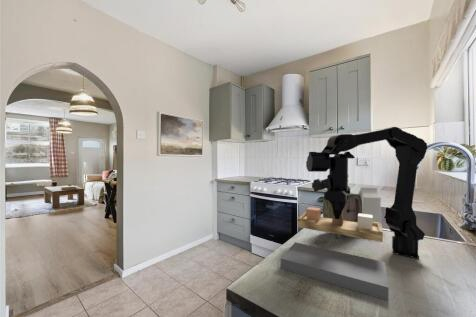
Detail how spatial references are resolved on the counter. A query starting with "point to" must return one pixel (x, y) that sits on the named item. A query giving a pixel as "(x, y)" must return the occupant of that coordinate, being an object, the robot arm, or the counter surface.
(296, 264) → the grey flat slab
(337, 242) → the counter surface
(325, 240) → the counter surface
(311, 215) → the block
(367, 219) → the block
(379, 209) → the milk carton
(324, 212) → the tabletop clock
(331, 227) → the tray
